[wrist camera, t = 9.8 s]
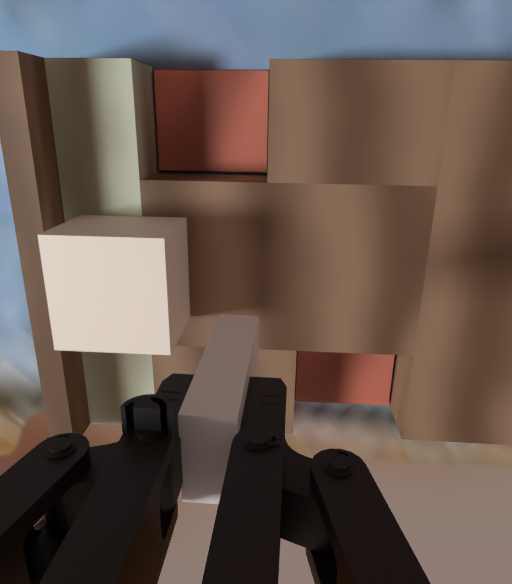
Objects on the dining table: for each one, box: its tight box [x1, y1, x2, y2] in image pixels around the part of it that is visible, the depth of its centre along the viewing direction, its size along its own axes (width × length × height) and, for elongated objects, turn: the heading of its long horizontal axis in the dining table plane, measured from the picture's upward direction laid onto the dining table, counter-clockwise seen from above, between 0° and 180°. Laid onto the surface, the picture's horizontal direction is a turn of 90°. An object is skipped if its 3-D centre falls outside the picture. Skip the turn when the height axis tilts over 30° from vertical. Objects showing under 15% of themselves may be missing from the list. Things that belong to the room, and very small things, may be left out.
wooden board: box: [0, 51, 512, 445], centre depth 28 cm, size 30×22×6 cm
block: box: [37, 215, 190, 355], centre depth 25 cm, size 6×6×5 cm
